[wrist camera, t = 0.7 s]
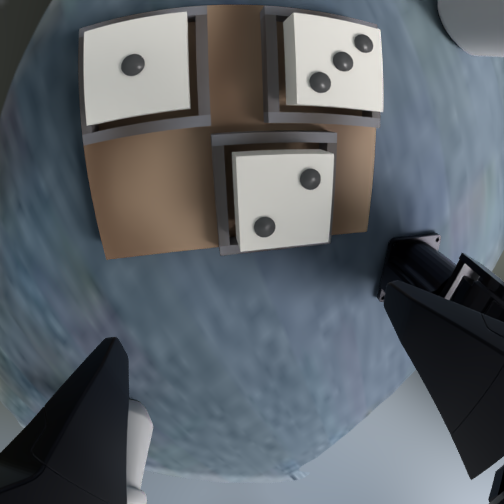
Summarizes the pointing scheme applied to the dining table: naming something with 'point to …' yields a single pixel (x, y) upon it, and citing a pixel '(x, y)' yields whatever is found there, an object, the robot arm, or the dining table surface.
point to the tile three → (332, 63)
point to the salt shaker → (137, 450)
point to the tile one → (136, 68)
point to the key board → (218, 139)
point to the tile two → (282, 197)
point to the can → (475, 25)
